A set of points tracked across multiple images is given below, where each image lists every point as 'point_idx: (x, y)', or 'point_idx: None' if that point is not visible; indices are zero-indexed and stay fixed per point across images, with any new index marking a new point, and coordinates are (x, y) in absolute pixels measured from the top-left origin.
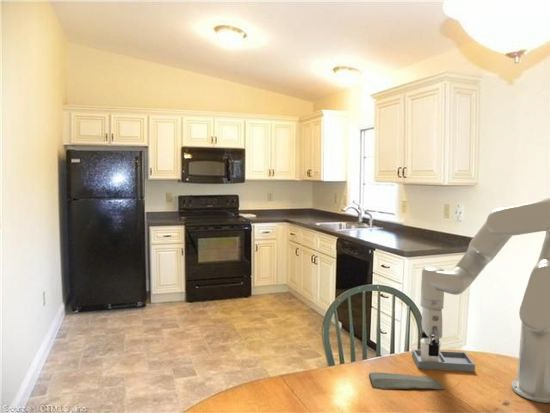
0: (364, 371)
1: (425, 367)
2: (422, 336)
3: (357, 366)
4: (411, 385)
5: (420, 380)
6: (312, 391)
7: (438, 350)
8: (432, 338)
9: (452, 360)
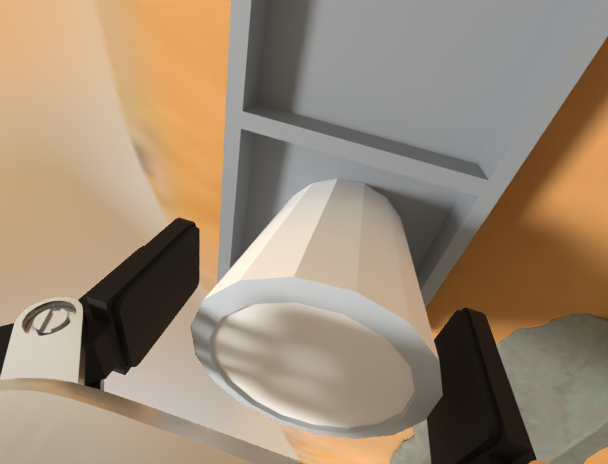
0: (366, 461)
1: None
2: (150, 339)
3: (326, 456)
4: (585, 457)
5: (592, 433)
6: None
7: (500, 368)
8: (214, 312)
9: (378, 19)
